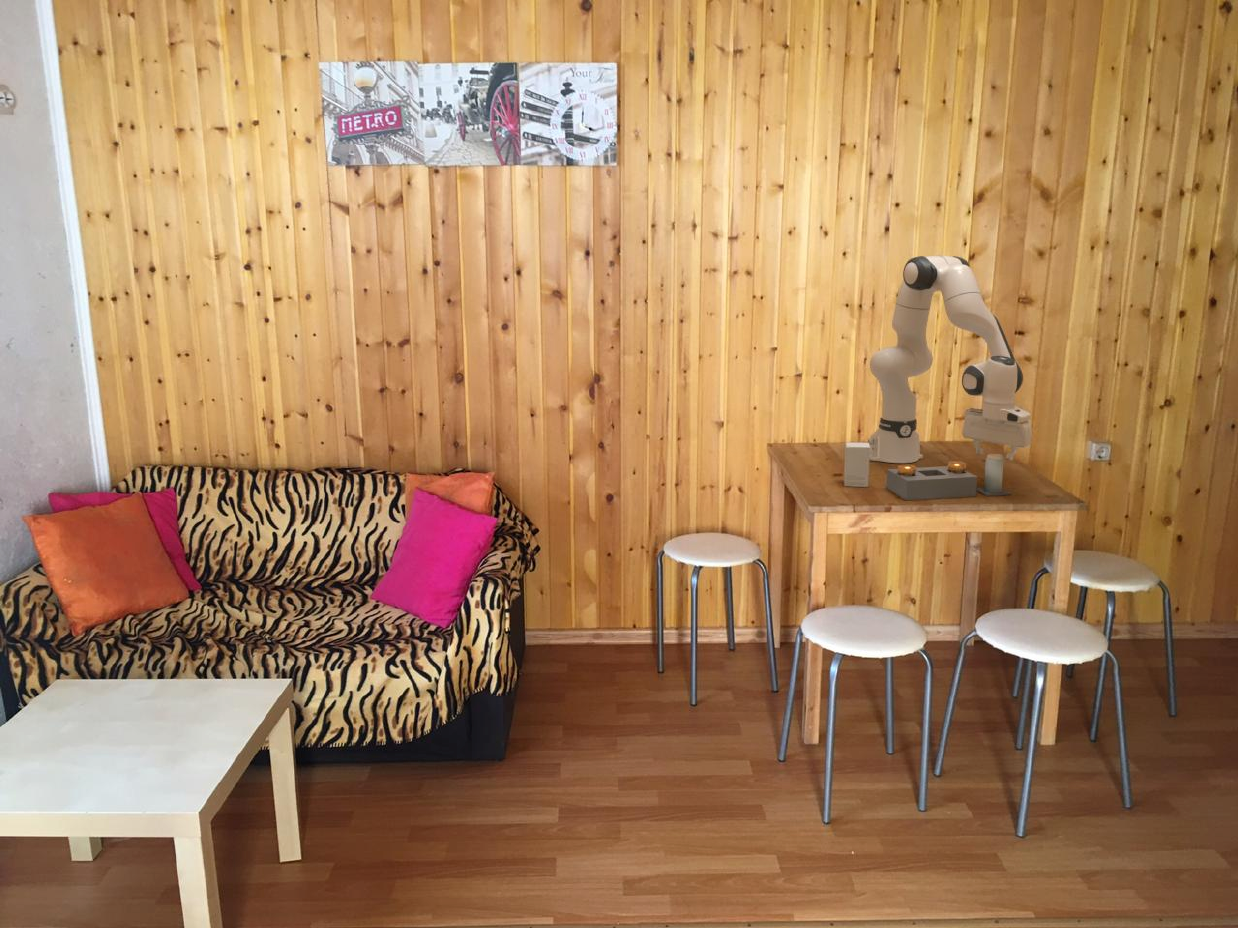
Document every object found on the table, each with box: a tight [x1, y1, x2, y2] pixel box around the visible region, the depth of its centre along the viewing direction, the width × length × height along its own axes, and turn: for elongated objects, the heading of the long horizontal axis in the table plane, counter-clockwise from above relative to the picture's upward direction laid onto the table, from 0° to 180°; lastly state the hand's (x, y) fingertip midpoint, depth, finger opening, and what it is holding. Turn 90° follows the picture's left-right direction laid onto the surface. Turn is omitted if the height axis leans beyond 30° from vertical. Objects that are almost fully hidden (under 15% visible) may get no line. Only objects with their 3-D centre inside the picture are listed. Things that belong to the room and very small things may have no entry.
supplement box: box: [843, 441, 870, 488], centre depth 314 cm, size 7×7×13 cm
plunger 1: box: [897, 463, 917, 477], centre depth 303 cm, size 5×5×8 cm
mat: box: [976, 487, 1013, 497], centre depth 304 cm, size 8×8×1 cm
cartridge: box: [983, 453, 1005, 493], centre depth 303 cm, size 5×5×11 cm
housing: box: [885, 465, 978, 501], centre depth 305 cm, size 14×22×6 cm, turn 99°
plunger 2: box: [947, 460, 967, 474], centre depth 305 cm, size 5×5×8 cm
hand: (994, 457), depth 302 cm, fingers open, 8 cm apart
